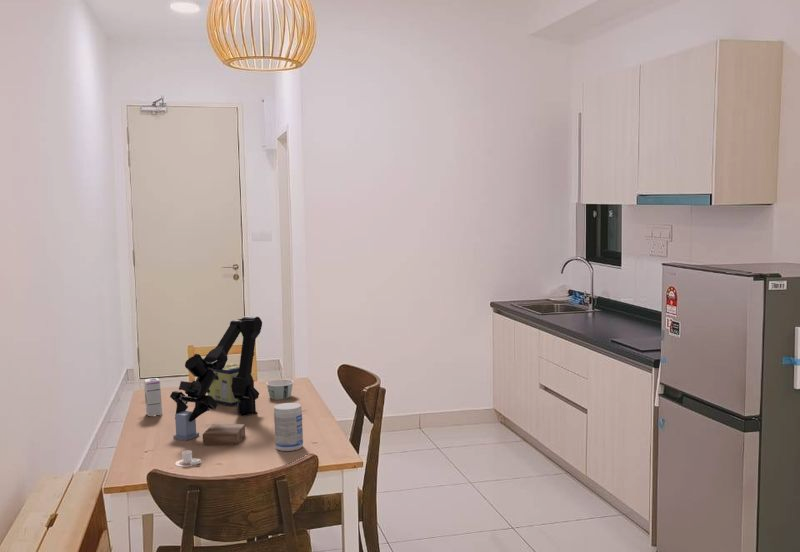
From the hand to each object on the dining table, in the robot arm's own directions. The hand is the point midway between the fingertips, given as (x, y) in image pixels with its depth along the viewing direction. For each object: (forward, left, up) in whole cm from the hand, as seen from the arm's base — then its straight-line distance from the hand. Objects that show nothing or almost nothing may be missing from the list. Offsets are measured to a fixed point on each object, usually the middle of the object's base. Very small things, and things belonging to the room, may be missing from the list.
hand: (182, 420), depth 273 cm
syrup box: (0, -39, -7) cm, 39 cm away
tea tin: (-1, -1, -7) cm, 7 cm away
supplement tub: (-26, +33, -7) cm, 43 cm away
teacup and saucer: (+9, +30, -7) cm, 32 cm away
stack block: (-11, +11, -7) cm, 17 cm away
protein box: (-32, -40, -7) cm, 52 cm away
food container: (-53, -33, -7) cm, 63 cm away
